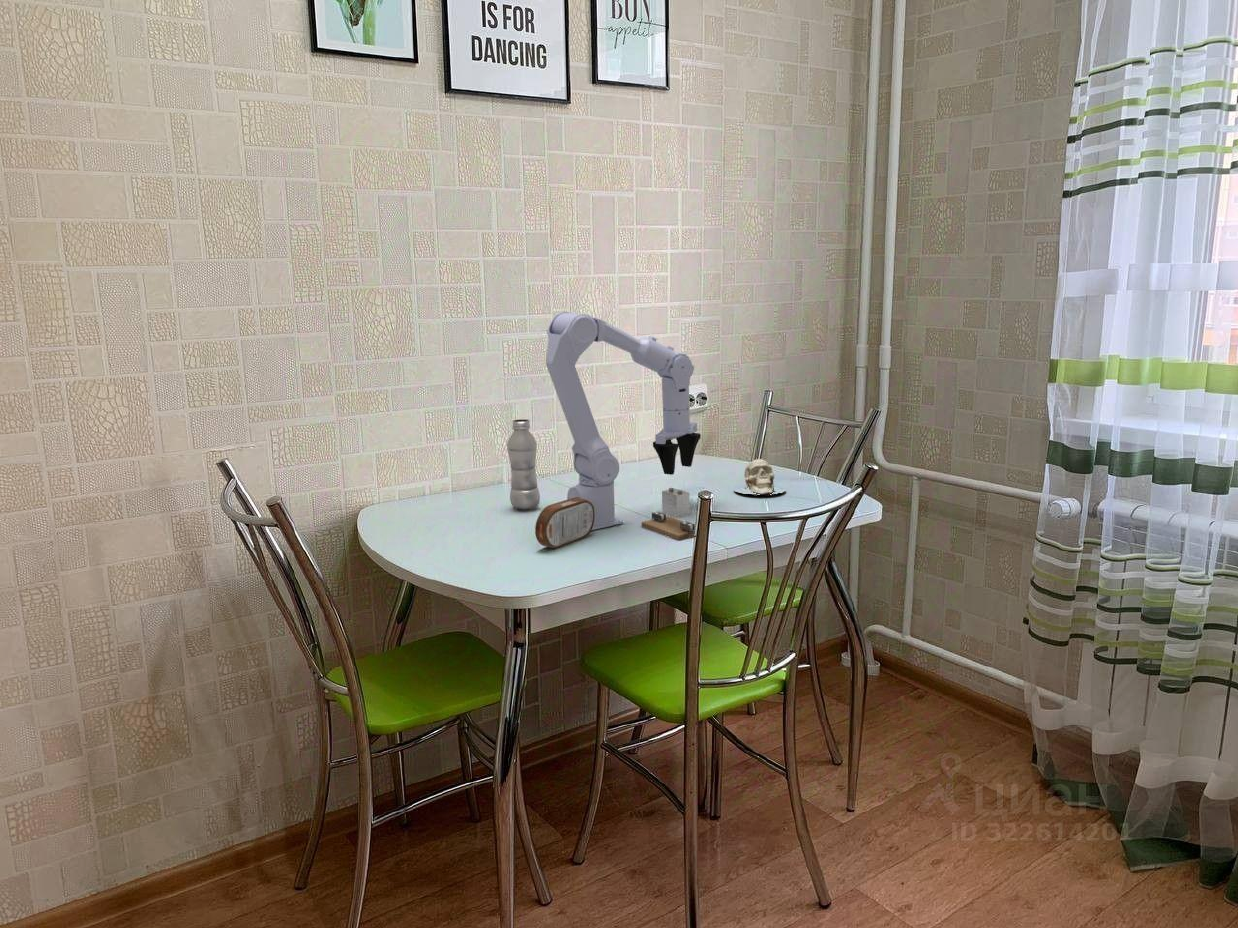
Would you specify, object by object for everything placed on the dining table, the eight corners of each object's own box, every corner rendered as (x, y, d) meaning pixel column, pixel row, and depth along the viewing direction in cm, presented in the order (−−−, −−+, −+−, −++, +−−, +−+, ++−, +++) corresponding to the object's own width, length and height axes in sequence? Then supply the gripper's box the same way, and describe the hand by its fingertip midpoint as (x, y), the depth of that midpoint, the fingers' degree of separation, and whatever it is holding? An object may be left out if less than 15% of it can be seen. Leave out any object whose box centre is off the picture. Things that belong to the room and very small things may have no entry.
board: (678, 540, 180) (678, 535, 180) (641, 526, 190) (641, 522, 190) (705, 533, 184) (705, 528, 184) (668, 520, 194) (668, 516, 193)
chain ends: (689, 532, 181) (689, 525, 181) (652, 519, 191) (651, 512, 191) (694, 531, 182) (694, 524, 182) (657, 518, 192) (657, 511, 192)
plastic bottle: (535, 513, 202) (531, 423, 197) (506, 512, 203) (501, 423, 199) (543, 505, 208) (540, 418, 204) (515, 504, 209) (510, 417, 205)
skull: (782, 500, 208) (782, 467, 206) (729, 497, 211) (729, 465, 210) (788, 487, 219) (789, 456, 217) (738, 485, 222) (738, 454, 221)
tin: (586, 532, 187) (585, 492, 185) (598, 534, 185) (597, 494, 184) (534, 551, 176) (532, 508, 174) (546, 554, 174) (544, 511, 172)
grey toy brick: (676, 518, 196) (676, 493, 194) (662, 513, 200) (661, 488, 198) (689, 515, 198) (689, 490, 196) (674, 510, 202) (674, 486, 200)
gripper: (675, 415, 189) (677, 479, 192) (708, 403, 201) (710, 464, 204) (646, 413, 193) (648, 476, 196) (680, 402, 204) (682, 461, 208)
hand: (677, 470), depth 200 cm, fingers open, 7 cm apart
